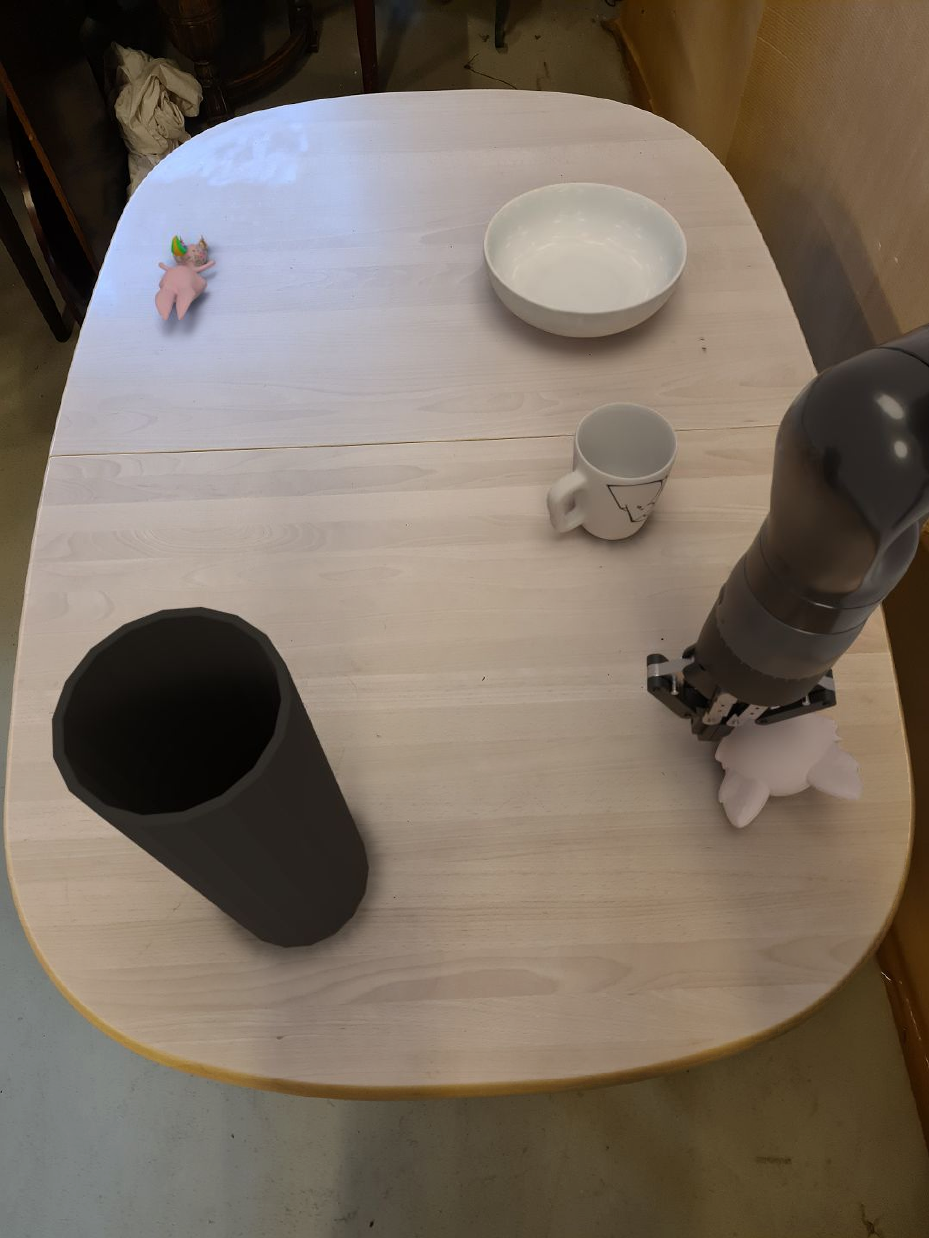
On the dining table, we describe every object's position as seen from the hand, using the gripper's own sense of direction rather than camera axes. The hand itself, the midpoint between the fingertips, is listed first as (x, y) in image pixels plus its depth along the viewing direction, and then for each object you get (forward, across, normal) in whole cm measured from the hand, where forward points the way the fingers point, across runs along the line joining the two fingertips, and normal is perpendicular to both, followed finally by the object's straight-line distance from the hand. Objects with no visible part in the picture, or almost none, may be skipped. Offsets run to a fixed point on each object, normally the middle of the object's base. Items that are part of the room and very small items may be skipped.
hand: (706, 729), depth 64 cm
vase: (+4, -29, -12) cm, 32 cm away
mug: (+4, -8, +21) cm, 23 cm away
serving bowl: (+4, -10, +51) cm, 52 cm away
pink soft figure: (+5, -53, +49) cm, 72 cm away
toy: (+4, +4, 0) cm, 5 cm away
